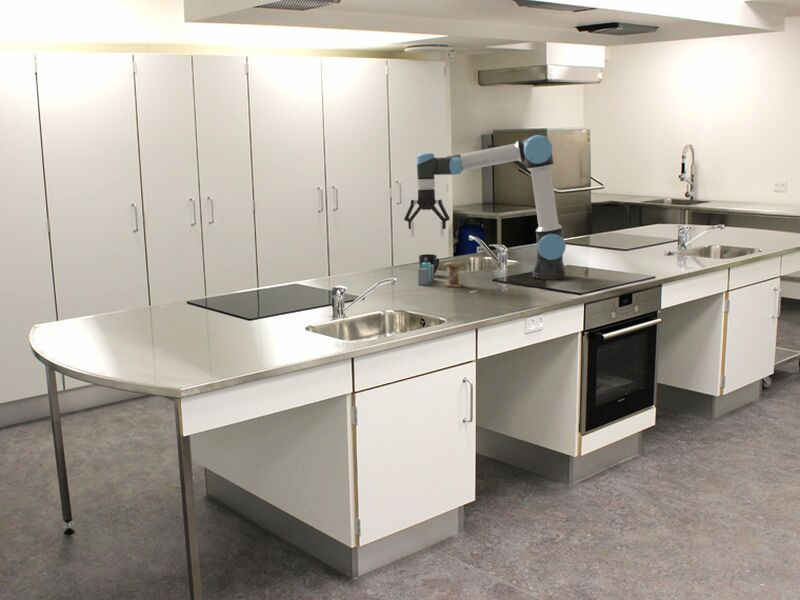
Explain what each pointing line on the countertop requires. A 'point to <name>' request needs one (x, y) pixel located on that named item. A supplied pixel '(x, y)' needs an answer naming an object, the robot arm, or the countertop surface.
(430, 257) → the mug
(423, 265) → the teal bottle
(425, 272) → the notch board
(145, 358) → the countertop surface
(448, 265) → the bobbin
